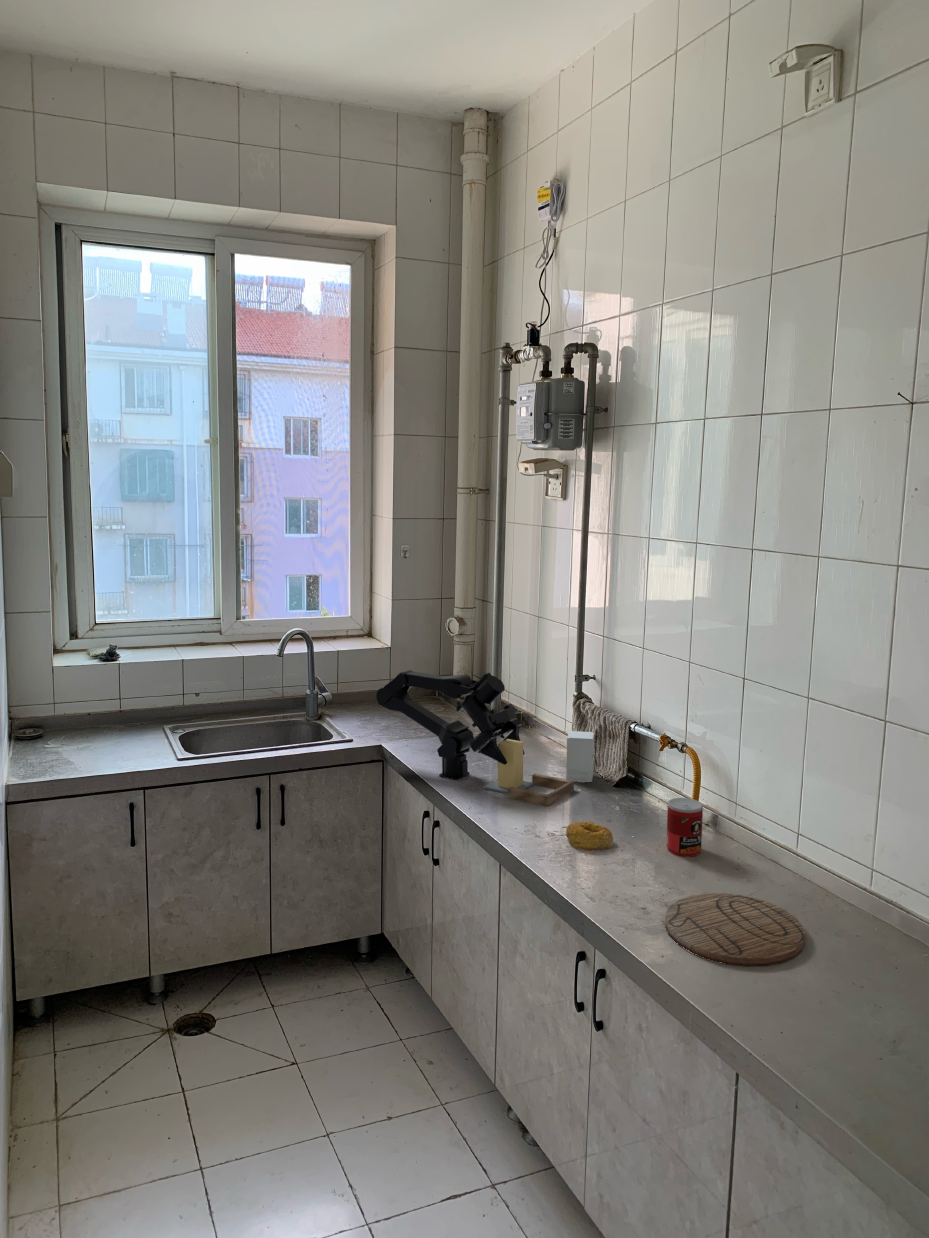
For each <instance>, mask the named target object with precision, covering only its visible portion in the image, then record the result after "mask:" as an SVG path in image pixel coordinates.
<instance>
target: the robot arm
mask: <svg viewBox="0 0 929 1238" xmlns="http://www.w3.org/2000/svg"><path fill="white" fill-rule="evenodd" d="M411 687H412V688H418V689H424V690H430V691H435V692H439V693H441V694H442V695H443V696H446V697H449V698H450V699H453V700H456V699H459V698H462V697H464V696H465V697H464V699H460V700H458V701H456V709H455V710H456V712H460V711H462V710H464V711H465V713H466V714H467V715H468V717H469V718H470V719H471V721H472V722H473V723H472V724H471V726H472V727H473V728H476V727H477V729H478V730H479V731H480V732H479V733H478V734H477V735H476V736H474V732H473V731H472V730H471V728H470V726H468V725H465V724H463V723H462V721H461V720H455V721H453V722H448V721H446V720H444V719H443V718H441V717H440V716H439V715H436V714H435V713H433V712H432V711H430V710H429V709H428V708H426V707H424V706H423V705H421V704H419V703H418V702H416V701H415V700H413V699H412V698H411V696H410V694H409V690H410V689H411ZM505 687H506V686H505V684H504V682H503V680H502V679H499V678H498V677H497V676H495V675H492V674H491V673H490V672H486V673H484V674H483V676H481V678H480V679H479V680H476V679H472V677H471V676H470V675H468V674H454V675H437V674H430V673H425V672H424V673H423V672H420V671H413V670H411V669H409V670H404V671H401V672H398V674H397V675H396V676H395V677H394V678H393V679H392V680H391V681H389V682H388V683H387V684H385V685H384V686H382V687H380V688H379V689H378V690H377V691H376V703H377V704H378V705H379V706H380V707H382V708H384V709H387V710H388V711H392V712H393V711H394V712H398V713H402V714H403V715H404V716H406V717H407V718H409V719H410V720H412V721H414V722H415V723H417V724H418V725H420V726H422V727H423V728H425V729H426V730H427V731H429V732H431V733H432V734H433V735H435V736H437V738H438V739H439V742H440V743H441V745H440V746H439V747H438V748H437V749H436V750H437V753H438V757H439V758H441V773H439V774H438V776H439V777H442V778H445V779H450V780H457V781H458V780H460V779H462V778H464V777H467V776H468V775H470V771H468V767H469V766H468V760H467V754H466V753H469V752H470V749H471V750H472V752H474V753H476V752H477V753H478V754H482V755H484V756H485V757H489V758H491V759H492V760H495V761H496V762H497V763H498V762H500V763H502V764H504V765H506V764H507V760H506V758H505V757H504V755H503V754H502V752H501V751H500V749H499V747H498V741H497V739H498V737H500V738H502V739H503V740H502V741H504V740H506V739H510V740H516V741H521V737H520V735H519V734H520V729H521V726H522V722H521V721H520V720H519V718H517V715H516V714H517V712H518V710H517V708H515V706H514V704H512V703H509V704H506V705H503V709H502V710H499V711H497V710H496V709H494V708H492V709H490V707H489V706H488V705H491V704H493V703H494V702H495V700H496V699H497V698H498V697H500V695H501V694H502V693H504V691H506V688H505ZM471 693H472V694H471ZM469 728H470V729H469ZM525 754H526V753H525V750H524V749H523V756H525Z"/></svg>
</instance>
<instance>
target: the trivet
mask: <svg viewBox="0 0 929 1238" xmlns="http://www.w3.org/2000/svg"><path fill="white" fill-rule="evenodd" d="M664 928H666V929H665V930H666V933H667V932H668V933H667V935H668V937H669V936H670V937H671V938H672V939H673V940H674V941H675V942H676V943H678V945H677V946H679V945H680V946H682V947H684V948H685V949H687V950H689V951H690V952H692V953H694V954H693V955H695V954H697V955H699V956H698V957H700V956H701V957H700V958H702V957H704V958H703V959H705V958H706V960H707V959H710V960H709V961H711V960H713V961H712V962H715V961H716V963H719V962H722V963H721V964H723V963H725V964H724V965H728V964H729V966H737V967H738V966H739V967H769V966H774V965H779V964H783V963H786V962H788V961H791V960H793V959H796V957H797V956H799V954H801V953H802V952H803V949H804V948H805V947H804V946H805V944H806V933H805V929H804V926H803V925H802V924H801V922H800V921H799V920H798V918H797V917H796V916H795V915H793V914H792V913H790V912H789V911H787V910H786V909H784V908H782V907H780V906H778V905H776V904H774V903H771V902H768V901H767V900H762V899H759V898H757V897H752V896H747V895H741V894H735V893H734V894H732V893H721V892H719V893H718V892H717V893H716V892H714V893H700V894H694V895H693V894H692V895H690V896H687V897H684V898H681V899H678V900H676V901H675V902H674V903H672V904H670V905H669V908H668V909H667V910H666V912H665V924H664ZM670 937H669V938H670ZM671 938H670V939H671ZM672 939H671V940H672ZM673 940H672V941H673ZM674 941H673V942H674ZM675 942H674V943H675ZM676 943H675V944H676ZM680 946H679V947H680ZM682 947H681V948H682ZM685 949H684V950H685ZM687 950H686V951H687ZM690 952H689V953H690ZM692 953H691V954H692ZM697 955H696V956H697Z"/></svg>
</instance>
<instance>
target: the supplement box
mask: <svg viewBox="0 0 929 1238" xmlns="http://www.w3.org/2000/svg"><path fill="white" fill-rule="evenodd" d="M593 732H594V731H573V730H572V731H571V730H569V731H568V734H567V737H566V763H565V764H566V766H565V767H566V771H565V774H566V775H565V777H566V778H565V780H570V781H574V783H585V782H592V783H593V777H594V768H595V767H594V763H595V760H594V757H595V732H594V733H593ZM576 781H577V782H576Z"/></svg>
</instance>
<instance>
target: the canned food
mask: <svg viewBox="0 0 929 1238" xmlns="http://www.w3.org/2000/svg"><path fill="white" fill-rule="evenodd" d="M666 810H667V811H666V812H667V816H666V819H667V820H666V848H667V850H668V852H670V853H671V854H672V855H675V854H676V856H679V855H680V856H679V857H686V856H689V857H695V856H697V854H698V855H699V854H700V852H701V850H702V843H703V842H702V837H703V836H702V835H703V815H704V811H703V810H704V808H703V803H701V802H700V801H698V800H696V799H693V798H688V797H675V798H672V799H669V800H668V802H667V809H666Z"/></svg>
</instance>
